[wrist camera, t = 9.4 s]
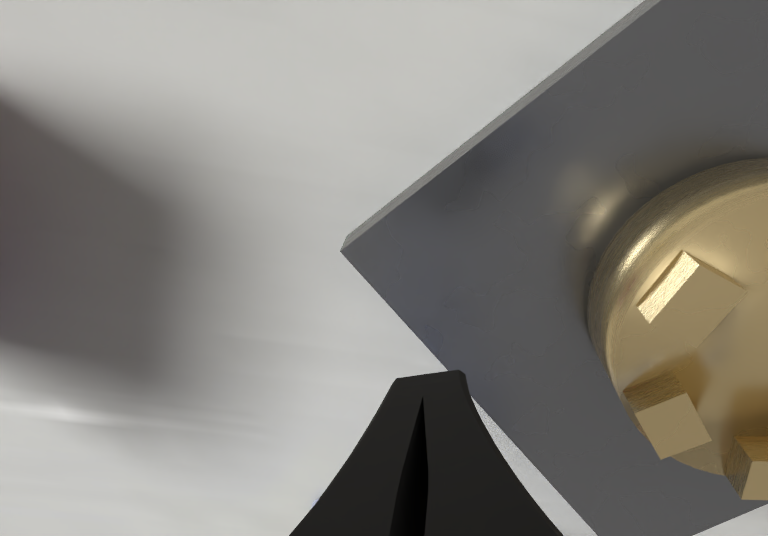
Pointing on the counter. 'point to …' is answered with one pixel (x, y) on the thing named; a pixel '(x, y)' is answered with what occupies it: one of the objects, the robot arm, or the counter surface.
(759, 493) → the tan round handled piece
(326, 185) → the counter surface
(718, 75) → the plate
